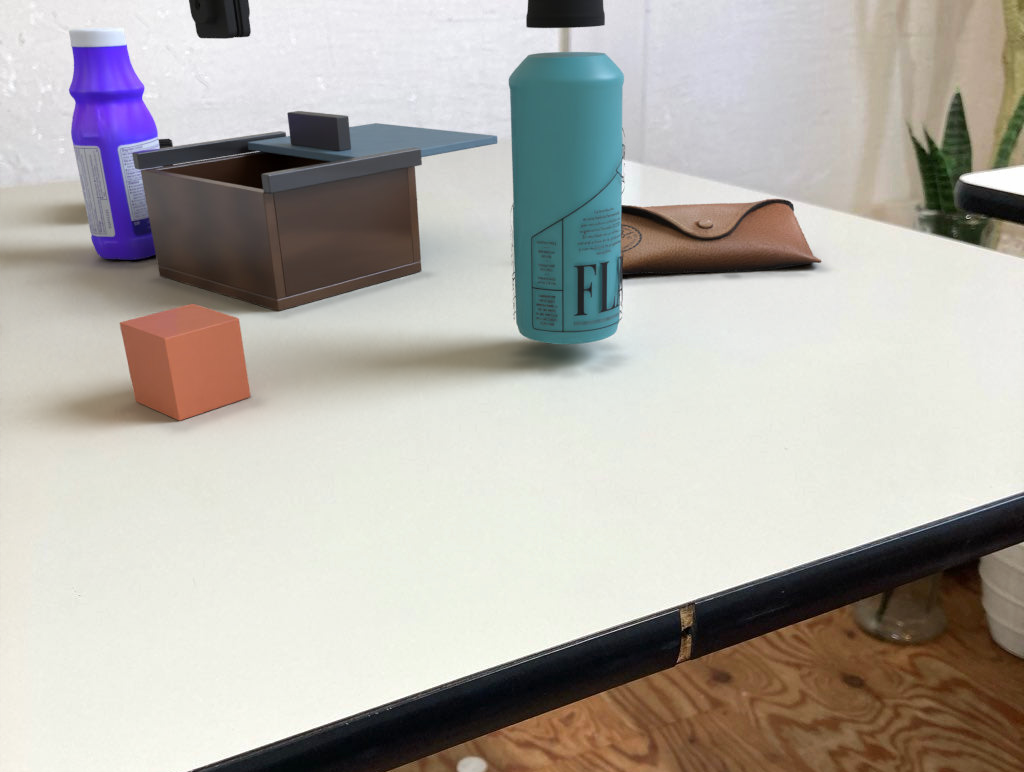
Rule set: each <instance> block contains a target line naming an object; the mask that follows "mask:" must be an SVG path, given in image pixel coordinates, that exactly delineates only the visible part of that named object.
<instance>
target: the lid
mask: <svg viewBox="0 0 1024 772" xmlns="http://www.w3.org/2000/svg"><path fill="white" fill-rule="evenodd" d="M349 119H350V118H349V116H348V115H345V114H344V115H343V114H334V113H333V114H332V113H325V112H324V113H322V112H313V111H304V110H296V111H289V112H287V121H288V130H289V135H286V137H279V138H273V139H266V140H259V141H252V142H248V149H249V150H253V151H257V152H267V153H274V154H281V155H288V156H295V157H302V158H309V159H316V160H323V161H330V162H333V161H339V160H345V159H351V158H356V157H362V156H368V155H374V154H379V153H385V152H391V151H397V150H402V149H408V148H420V149H421V158H426V157H432V156H438V155H443V154H448V153H453V152H459V151H464V150H469V149H475V148H480V147H485V146H491V145H497V144H498V135H493V134H483V133H473V132H465V131H464V132H463V131H455V130H445V129H434V128H427V127H426V128H424V127H416V126H407V125H398V124H389V123H388V124H387V123H378V122H374V123H367V124H362V125H355V126H350V122H349V121H350V120H349Z"/></svg>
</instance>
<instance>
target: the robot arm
mask: <svg viewBox="0 0 1024 772" xmlns="http://www.w3.org/2000/svg"><path fill="white" fill-rule="evenodd" d="M188 3H189V11H190V14H191V18H192V20H193V22H194V25H195V31H196V35H197V37H198V38H199V39H214V40H215V39H216V40H217V39H222V40H224V39H234V38H249V37H250V36H251V32H252V29H251V21H250V15H251V10H250V3H249V0H188Z"/></svg>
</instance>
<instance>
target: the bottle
mask: <svg viewBox="0 0 1024 772" xmlns="http://www.w3.org/2000/svg"><path fill="white" fill-rule="evenodd" d="M68 33H69V39H70V47H71V51H72V58H73V73H72V80H71V82H70V86H69V88H68V92H69V93H68V94H69V95H70V97H72V99H73V100H74V109H73V112H72V113H73V114H72V119H71V128H70V130H71V131H70V134H71V141H72V145H73V151H74V155H75V159H76V166H77V170H78V177H79V180H80V187H81V192H82V196H83V202H84V206H85V212H86V215H87V220H88V227H89V232H90V235H91V236H90V239H91V243H92V244H93V248H94V249H95V252H96V254H97V255H98V256H99V257H100V258H102V259H105V260H121V261H136V260H137V261H138V260H143V259H147V258H151V257H153V256H156V253H155V247H154V242H153V236H152V231H151V225H150V220H149V214H148V209H147V203H146V198H145V192H144V187H143V181H142V176H141V170H139V169H135V166H134V161H133V155H132V153H133V152H139V151H145V150H152V149H159V148H160V146H159V140H158V139H159V132H158V128H157V127H158V126H157V124H156V122H155V118H154V117H153V115H152V113H151V112H150V110H149V109H148V107H147V105H146V103H145V102H144V100H143V96H144V92H145V90H146V89H145V85H144V83H143V82H142V81H141V79H140V78H139V76H138V74H137V73H136V71H135V69H134V67H133V65H132V62H131V59H130V54H129V49H128V44H127V40H126V34H125V29H124V28H123V27H89V28H88V27H87V28H74V29H73V28H72V29H69V30H68ZM161 167H163V166H161ZM154 168H157V167H154ZM148 169H151V168H148ZM142 170H144V169H142Z"/></svg>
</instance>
